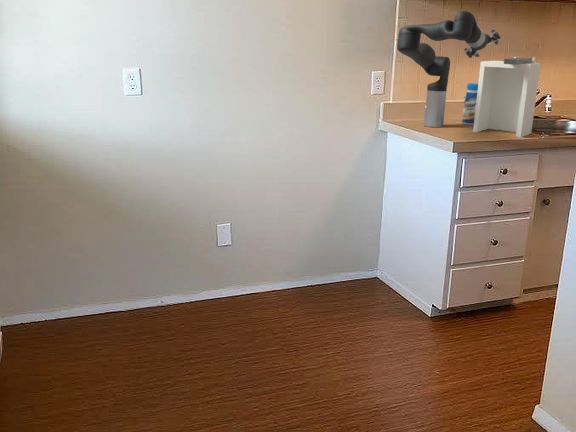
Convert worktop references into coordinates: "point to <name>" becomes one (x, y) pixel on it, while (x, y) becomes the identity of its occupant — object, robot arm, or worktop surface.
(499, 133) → the worktop surface
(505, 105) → the shelf
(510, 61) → the bar
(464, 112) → the beverage bottle
